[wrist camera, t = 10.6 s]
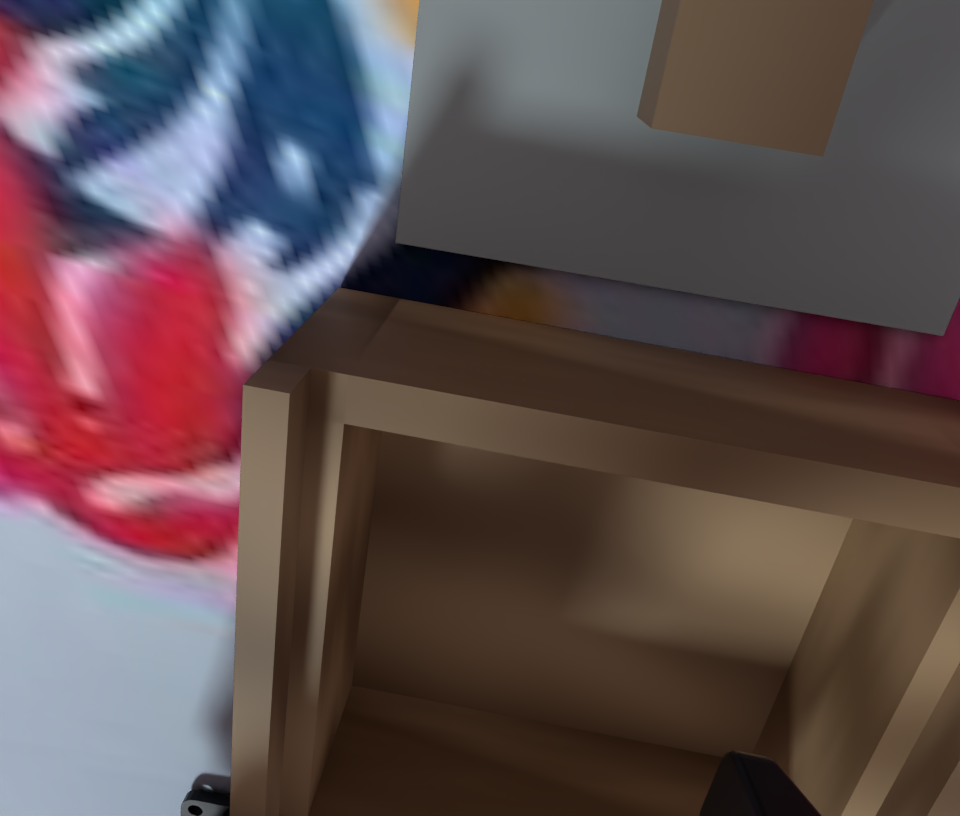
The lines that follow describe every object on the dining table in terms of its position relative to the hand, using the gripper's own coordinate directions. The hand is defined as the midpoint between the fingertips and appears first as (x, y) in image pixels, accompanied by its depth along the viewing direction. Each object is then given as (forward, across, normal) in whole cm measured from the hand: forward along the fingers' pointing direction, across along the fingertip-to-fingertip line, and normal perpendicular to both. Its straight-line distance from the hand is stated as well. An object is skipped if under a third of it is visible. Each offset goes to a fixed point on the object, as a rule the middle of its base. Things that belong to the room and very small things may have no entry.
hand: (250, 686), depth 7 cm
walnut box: (+13, -5, +6) cm, 15 cm away
